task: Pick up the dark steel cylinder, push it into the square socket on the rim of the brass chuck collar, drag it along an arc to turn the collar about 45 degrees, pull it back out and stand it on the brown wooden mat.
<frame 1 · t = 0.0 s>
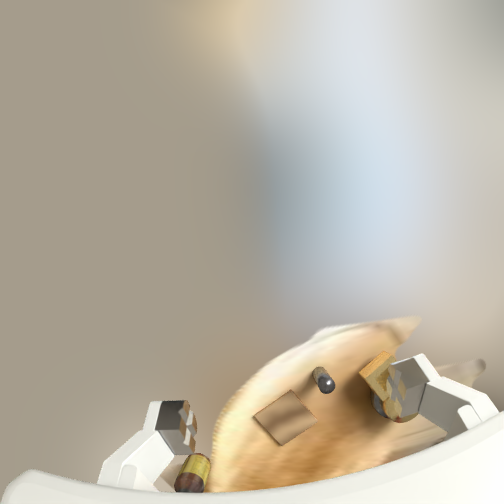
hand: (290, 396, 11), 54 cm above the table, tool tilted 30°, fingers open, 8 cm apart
wooden mat: (286, 417, 62), on the table
sauce bottle: (199, 461, 61), on the table
chuck collar: (394, 389, 56), point 6 cm above the table, hinge at 0.0°
steel cylinder: (319, 373, 63), on the table
chuck base: (392, 392, 61), on the table
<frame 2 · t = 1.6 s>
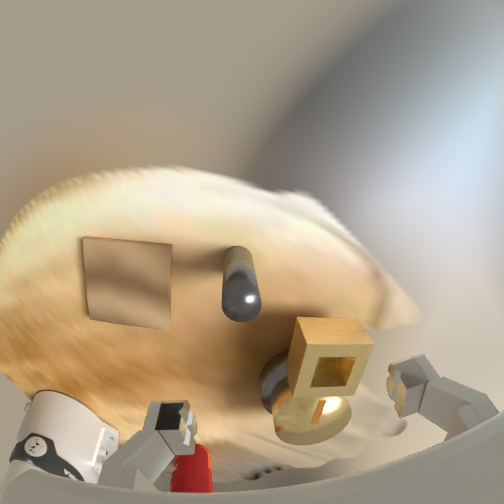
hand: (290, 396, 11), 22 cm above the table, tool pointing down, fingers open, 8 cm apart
wooden mat: (128, 283, 33), on the table
chuck collar: (316, 388, 32), point 6 cm above the table, hinge at 0.0°
paper cup: (193, 451, 44), on the table
steel cylinder: (237, 259, 33), on the table
chuck base: (300, 378, 39), on the table
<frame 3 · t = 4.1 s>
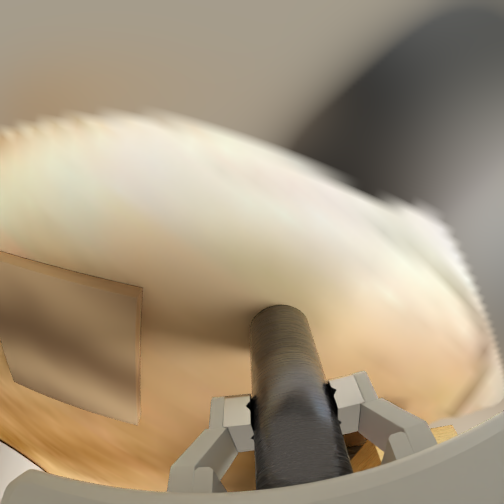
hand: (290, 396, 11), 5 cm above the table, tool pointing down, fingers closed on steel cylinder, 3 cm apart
wooden mat: (64, 341, 16), on the table
steel cylinder: (279, 330, 15), on the table, touching gripper
when the fingers open (10 cm above the table, at t = 8.8 s): steel cylinder stays where it is, resting on chuck collar.
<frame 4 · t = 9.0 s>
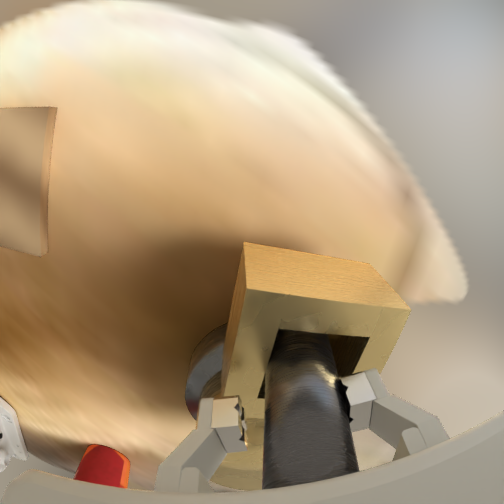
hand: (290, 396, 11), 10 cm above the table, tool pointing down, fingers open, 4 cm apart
wooden mat: (0, 176, 16), on the table
chuck collar: (280, 398, 16), point 6 cm above the table, hinge at 1.0°, touching steel cylinder
paper cup: (109, 456, 28), on the table
steel cylinder: (295, 327, 16), point 5 cm above the table, tilted 5°, touching chuck collar, gripper
chuck base: (260, 374, 23), on the table
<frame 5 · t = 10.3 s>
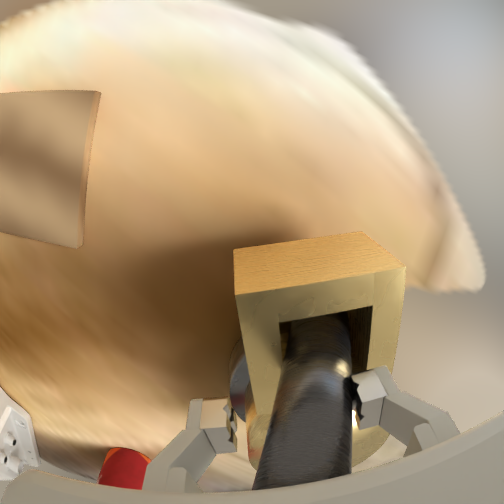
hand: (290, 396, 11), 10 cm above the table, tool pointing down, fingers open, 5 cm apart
wooden mat: (29, 163, 17), on the table
chuck collar: (315, 384, 17), point 6 cm above the table, hinge at 19.5°, touching steel cylinder
paper cup: (131, 459, 28), on the table
steel cylinder: (320, 322, 16), point 5 cm above the table, tilted 17°, touching chuck collar, gripper
chuck base: (299, 365, 23), on the table
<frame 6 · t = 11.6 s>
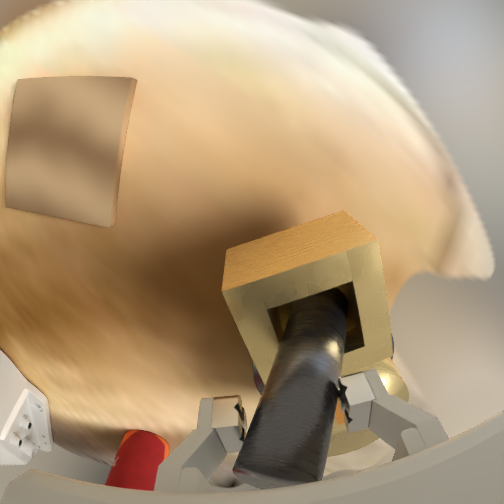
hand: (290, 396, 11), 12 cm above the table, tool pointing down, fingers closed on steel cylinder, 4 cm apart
wooden mat: (62, 146, 18), on the table
chuck collar: (326, 361, 18), point 6 cm above the table, hinge at 31.5°, touching steel cylinder
paper cup: (147, 441, 30), on the table
steel cylinder: (321, 305, 17), point 6 cm above the table, tilted 21°, touching chuck collar, gripper
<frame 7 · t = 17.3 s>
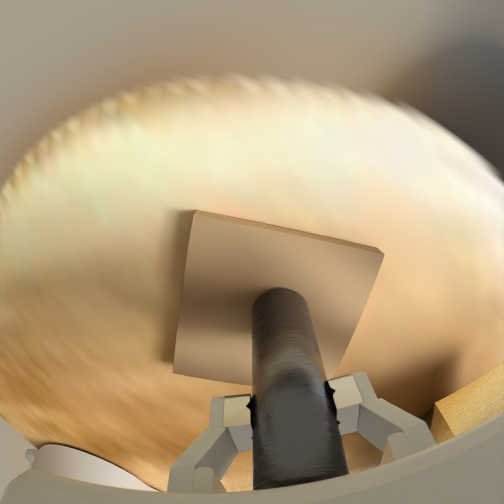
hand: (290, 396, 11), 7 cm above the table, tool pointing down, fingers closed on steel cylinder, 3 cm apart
wooden mat: (270, 312, 18), on the table
chuck collar: (469, 452, 17), point 6 cm above the table, hinge at 31.5°
steel cylinder: (279, 312, 16), point 1 cm above the table, touching gripper, wooden mat
when the fingers open (7 cm above the table, at t = 17.5 s): steel cylinder stays where it is, resting on wooden mat.
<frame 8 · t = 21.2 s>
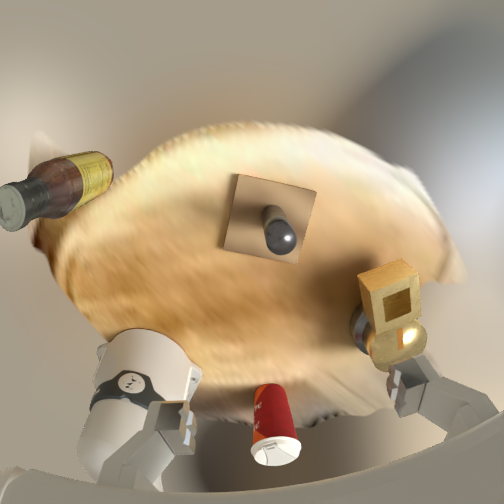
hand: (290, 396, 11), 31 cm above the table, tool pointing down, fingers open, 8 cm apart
wooden mat: (268, 219, 41), on the table
sauce bottle: (98, 172, 38), on the table
chuck collar: (393, 321, 41), point 6 cm above the table, hinge at 31.5°
paper cup: (270, 393, 52), on the table
steel cylinder: (272, 216, 40), point 1 cm above the table, touching wooden mat
chuck base: (380, 318, 47), on the table
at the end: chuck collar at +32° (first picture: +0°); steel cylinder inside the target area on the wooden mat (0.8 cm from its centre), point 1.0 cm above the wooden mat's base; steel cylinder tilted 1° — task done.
